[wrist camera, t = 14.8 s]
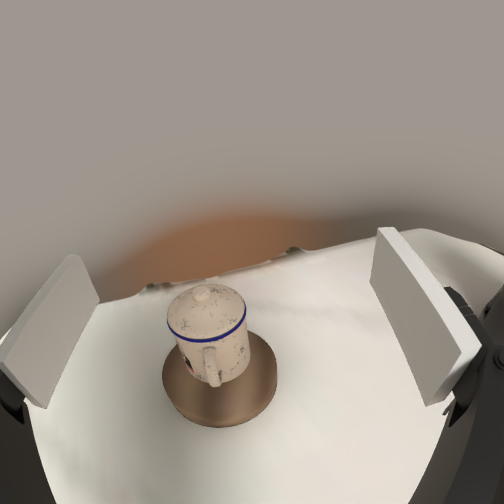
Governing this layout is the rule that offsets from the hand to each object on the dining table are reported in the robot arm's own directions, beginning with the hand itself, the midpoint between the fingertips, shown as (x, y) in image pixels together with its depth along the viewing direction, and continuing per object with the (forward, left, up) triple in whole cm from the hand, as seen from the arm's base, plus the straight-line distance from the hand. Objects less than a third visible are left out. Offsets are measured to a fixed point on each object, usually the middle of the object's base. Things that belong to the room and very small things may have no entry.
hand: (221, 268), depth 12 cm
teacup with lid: (+5, -13, -24) cm, 27 cm away
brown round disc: (+5, -13, -27) cm, 30 cm away
